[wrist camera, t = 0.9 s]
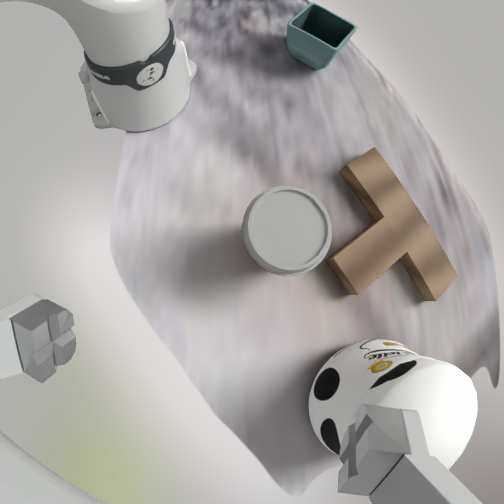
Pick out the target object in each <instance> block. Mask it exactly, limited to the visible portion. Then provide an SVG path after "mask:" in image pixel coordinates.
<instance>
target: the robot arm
mask: <svg viewBox="0 0 504 504" xmlns="http://www.w3.org/2000/svg"><path fill="white" fill-rule="evenodd" d="M5 1H24V2H31V3H35V4H39V5H42V6H44V7H47V8H49V9H51V10H53V11H55V12H57V13H58V14H59V15H61V16H62V17H63V18H64V19H65V20H66V21H67V22H68V23H69V25H70V26H71V27H72V29H73V30H74V32H75V34H76V35H77V37H78V39H79V41H80V42H81V44H82V46H83V48H84V57H85V63H84V64H83V65H82V67H81V71H80V72H79V76H80V79H81V81H82V83H83V84H84V87H85V91H86V96H87V100H88V104H89V108H90V112H91V116H92V119H93V123H94V125H95V127H96V128H111V127H115V128H119V129H122V130H126V131H134V132H138V131H146V130H151V129H154V128H157V127H159V126H161V125H163V124H165V123H167V122H168V121H170V120H171V119H173V118H174V117H175V116H176V115H177V114H178V113H179V112H180V111H181V110H182V108H183V107H184V106H185V104H186V102H187V100H188V97H189V93H190V83H191V80H192V79H193V77H194V76H195V74H196V72H197V67H196V64H195V63H194V62H192V61H191V60H189V59H188V58H187V54H186V50H185V45H184V43H183V41H179V40H178V39H177V38H176V35H175V30H174V27H173V24H172V22H171V20H170V19H169V17H168V10H167V3H166V0H0V2H5ZM99 114H101V115H100V116H98V115H99ZM73 325H74V320H73V314H72V313H71V312H70V311H69V310H67V309H65V308H63V307H61V306H59V305H57V304H55V303H53V302H51V301H49V300H48V299H45V298H43V297H41V296H40V295H38V294H31V295H29V296H27V297H25V298H23V299H22V300H20V301H18V302H16V303H14V304H12V305H11V306H8V307H7V308H5V309H3V310H1V311H0V379H4V378H7V377H10V376H14V375H17V374H21V373H23V372H25V373H26V374H28V375H30V376H31V377H33V378H34V379H36V380H37V381H39V382H41V383H43V382H44V381H45V380H47V379H48V378H49V377H50V376H52V375H53V374H54V373H55V372H56V368H57V366H59V365H64V364H66V363H67V362H68V361H69V360H70V359H71V358H72V356H73V354H74V352H75V348H76V337H75V335H74V333H73V332H72V330H71V328H72V327H73ZM339 459H340V460H341V462H342V463H343V464H344V465H343V466H342V468H341V469H340V471H339V477H338V492H340V493H347V494H355V495H364V496H369V499H370V501H371V502H372V504H482V503H481V502H480V501H479V500H478V499H477V498H476V497H475V496H474V495H473V494H472V493H471V492H470V491H469V490H468V489H467V488H466V487H465V486H464V485H463V484H462V483H461V482H460V481H459V480H458V479H457V478H456V477H455V476H454V475H452V473H451V472H450V471H449V470H448V469H447V468H446V467H445V466H444V465H443V464H442V463H441V462H440V461H439V460H438V459H437V458H436V457H435V456H429V451H428V447H427V443H426V439H425V435H424V431H423V427H422V423H421V419H420V415H419V413H418V412H417V411H416V410H410V409H400V408H399V409H397V408H390V407H383V406H376V405H370V404H364V403H362V404H361V405H360V407H359V408H358V410H357V412H356V413H355V423H353V424H351V425H349V426H348V428H347V430H346V432H345V434H344V437H343V440H342V443H341V447H340V457H339ZM0 504H106V503H104V502H103V501H101V500H99V499H97V498H95V497H93V496H92V495H90V494H88V493H86V492H85V491H83V490H81V489H79V488H78V487H76V486H75V485H73V484H72V483H70V482H68V481H67V480H65V479H64V478H62V477H61V476H59V475H58V474H56V473H55V472H53V471H51V470H50V469H49V468H47V467H46V466H44V465H43V464H42V463H40V462H39V461H37V460H36V459H35V458H33V457H32V456H31V455H29V454H28V453H27V452H25V451H24V450H23V449H22V448H20V447H19V446H18V445H17V444H15V443H14V442H13V441H12V440H11V439H9V438H8V437H7V436H6V435H5V434H3V433H2V432H1V431H0Z"/></svg>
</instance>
